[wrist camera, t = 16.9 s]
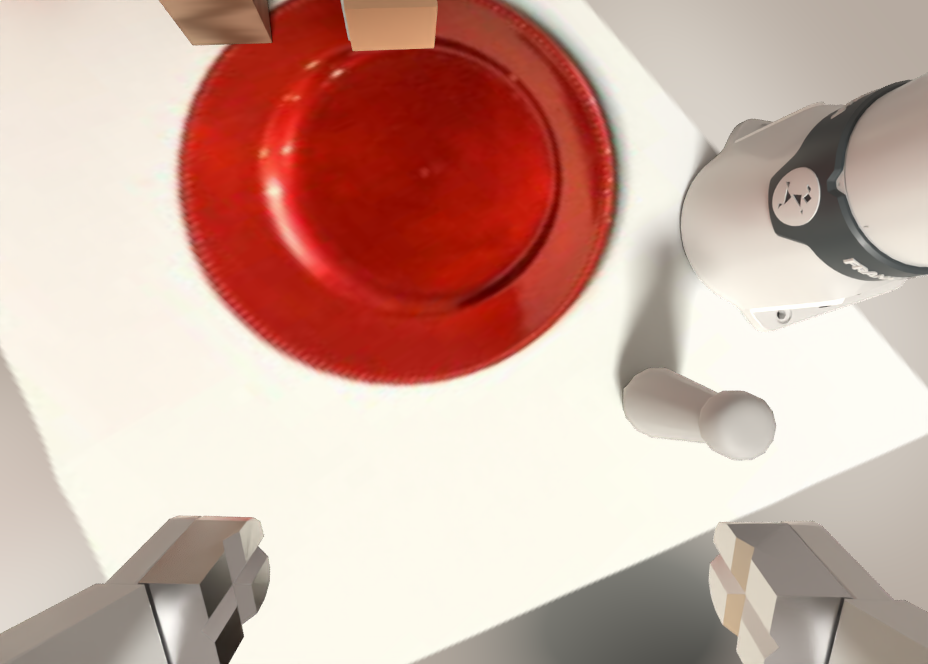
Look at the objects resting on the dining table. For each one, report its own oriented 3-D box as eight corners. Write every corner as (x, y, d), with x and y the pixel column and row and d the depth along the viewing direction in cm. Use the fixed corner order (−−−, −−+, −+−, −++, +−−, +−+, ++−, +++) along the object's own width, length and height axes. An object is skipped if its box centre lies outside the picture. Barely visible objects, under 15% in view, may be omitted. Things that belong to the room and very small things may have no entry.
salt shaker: (599, 393, 41) (688, 422, 28) (647, 351, 41) (757, 360, 28) (639, 445, 41) (746, 496, 28) (686, 402, 42) (812, 434, 29)
